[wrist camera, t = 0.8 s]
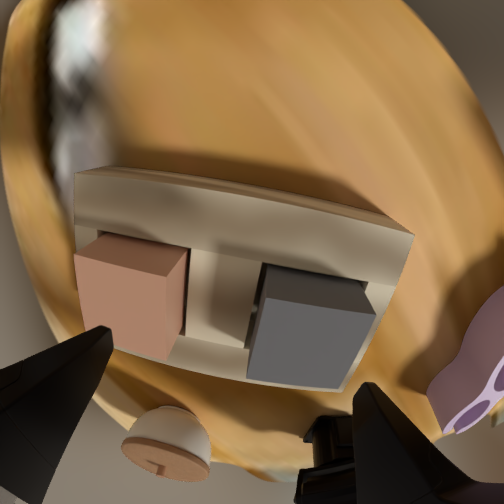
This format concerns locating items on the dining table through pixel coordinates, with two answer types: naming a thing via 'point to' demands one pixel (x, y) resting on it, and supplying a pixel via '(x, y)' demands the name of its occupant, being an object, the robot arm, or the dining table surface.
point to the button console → (238, 252)
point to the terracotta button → (133, 291)
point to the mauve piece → (472, 371)
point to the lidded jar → (169, 444)
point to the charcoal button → (307, 328)
